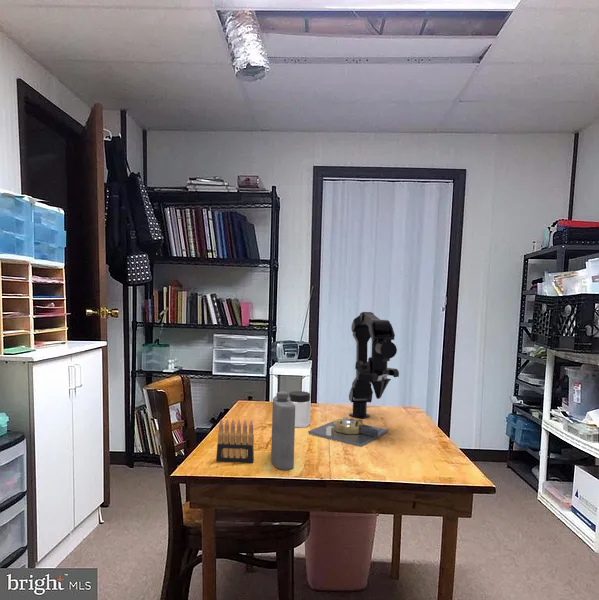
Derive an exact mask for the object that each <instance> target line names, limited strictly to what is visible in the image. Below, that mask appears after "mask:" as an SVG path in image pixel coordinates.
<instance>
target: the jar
mask: <svg viewBox="0 0 599 600" xmlns="http://www.w3.org/2000/svg"><path fill="white" fill-rule="evenodd" d="M288 396H289V397H290V402H291V403H293V404H294V405H295V428H307V427H308V426H310V425H311V411H312V410H311V406H312V403H311V402H312V401H311V393H310V392H309V391H301V390H297V391H293V390H292V391H290V392H289V393H288ZM309 424H310V425H309Z"/></svg>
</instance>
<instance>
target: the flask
mask: <svg viewBox="0 0 599 600" xmlns="http://www.w3.org/2000/svg"><path fill="white" fill-rule="evenodd" d="M271 414H272V415H271V417H272V419H271V444H270V445H271V450H270V459H271V462H272V464H273V465H274V467H275V468H277V469H278V468H279V470H281V469H282V470H283V471H288V469H290V470H292V469H293V468H294V463H295V435H296V434H295V432H296V431H295V430H296V427H295V405H294V404H293V403H291V402H290V397H289V393H288V392H287V391H282V390H281V391H278V392H276V396H273V398H272V413H271Z"/></svg>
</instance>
